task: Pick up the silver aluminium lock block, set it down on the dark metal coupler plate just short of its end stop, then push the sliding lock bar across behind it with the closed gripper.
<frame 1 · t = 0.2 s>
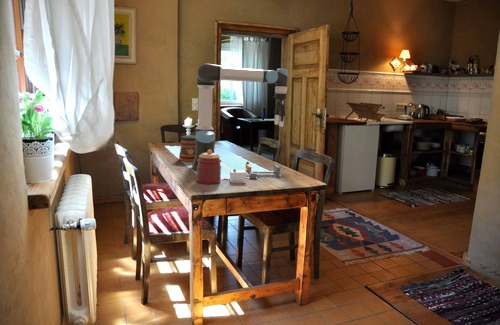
hand: (278, 125, 256), 28 cm above the table, fingers open, 13 cm apart
beer stein: (192, 160, 269), on the table
canister: (208, 182, 209), on the table
coupler rail: (260, 174, 233), on the table
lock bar: (248, 166, 240), point 3 cm above the table, slide at 0.0 cm
lock block: (237, 181, 213), on the table
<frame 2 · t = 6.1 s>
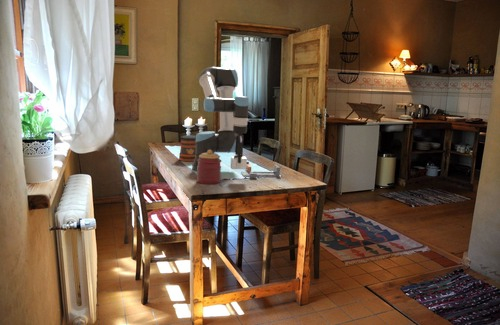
hand: (238, 167, 212), 8 cm above the table, fingers closed on lock block, 5 cm apart
lock block: (238, 168, 212), point 7 cm above the table, touching gripper
everything else where it was.
when the fingers open (2 cm above the table, at t = 10.8 s): lock block stays where it is, resting on coupler rail.
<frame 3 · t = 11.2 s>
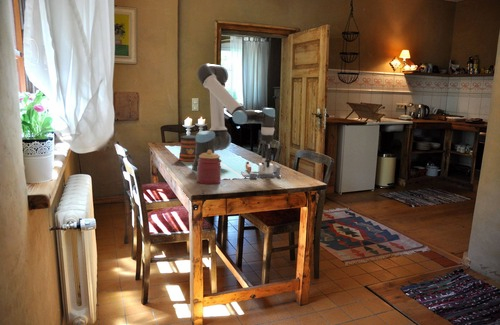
hand: (265, 170, 233), 3 cm above the table, fingers open, 10 cm apart
lock block: (265, 173, 233), point 1 cm above the table, touching coupler rail
everything else where it was.
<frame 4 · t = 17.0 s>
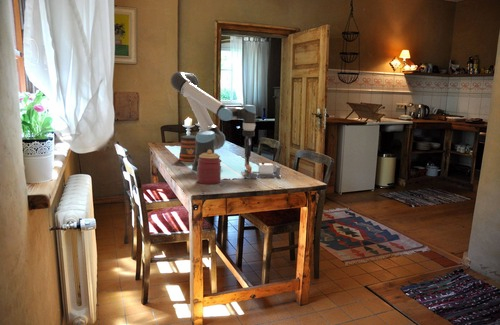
hand: (246, 166, 246), 2 cm above the table, fingers closed
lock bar: (248, 166, 239), point 3 cm above the table, slide at 0.7 cm, touching gripper
everything else where it was.
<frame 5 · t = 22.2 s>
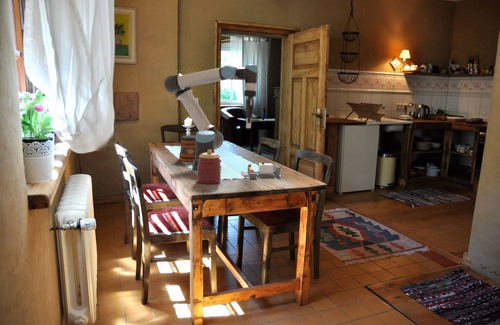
hand: (248, 128, 243), 26 cm above the table, fingers closed
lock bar: (250, 169, 232), point 3 cm above the table, slide at 8.7 cm
everything else where it was.
at the end: lock block inside the target area (0.2 cm from its centre), point 0.6 cm above the table; lock block tilted 0°; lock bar slide at 8.7 cm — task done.
